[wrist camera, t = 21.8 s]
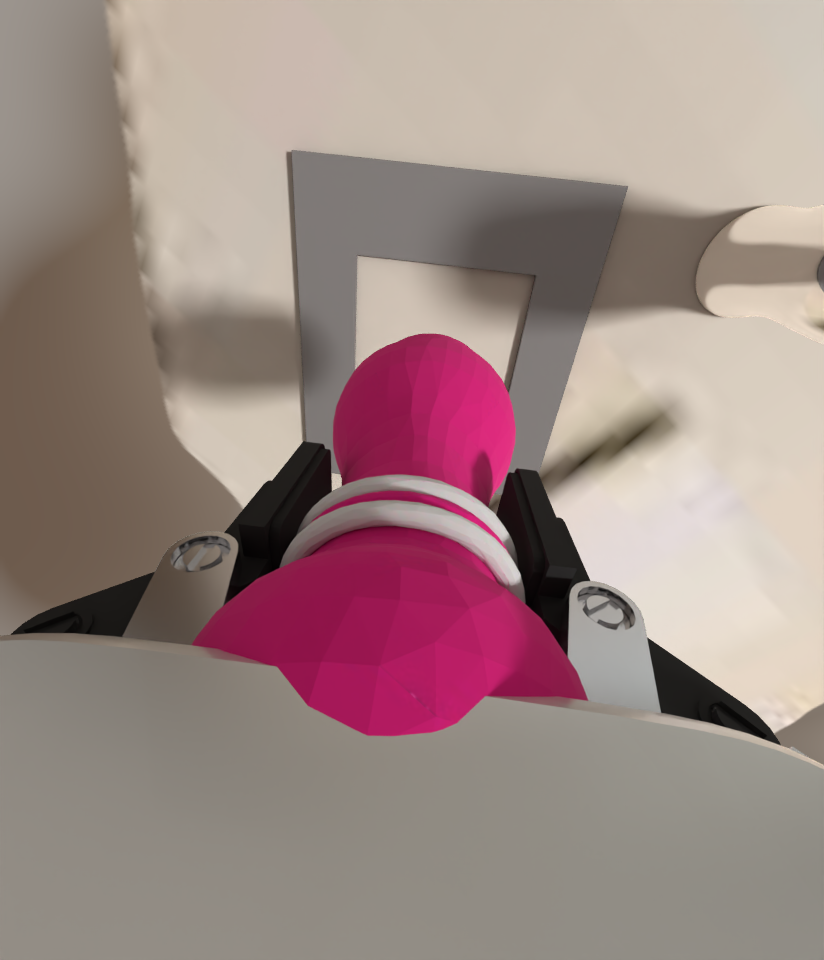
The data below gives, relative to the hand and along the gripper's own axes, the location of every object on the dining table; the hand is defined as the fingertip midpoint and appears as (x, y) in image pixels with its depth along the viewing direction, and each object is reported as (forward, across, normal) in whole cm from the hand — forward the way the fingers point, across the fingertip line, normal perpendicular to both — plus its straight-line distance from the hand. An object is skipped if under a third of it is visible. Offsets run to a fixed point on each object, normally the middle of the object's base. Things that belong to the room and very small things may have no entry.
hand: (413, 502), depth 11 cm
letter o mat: (+20, 0, 0) cm, 20 cm away
